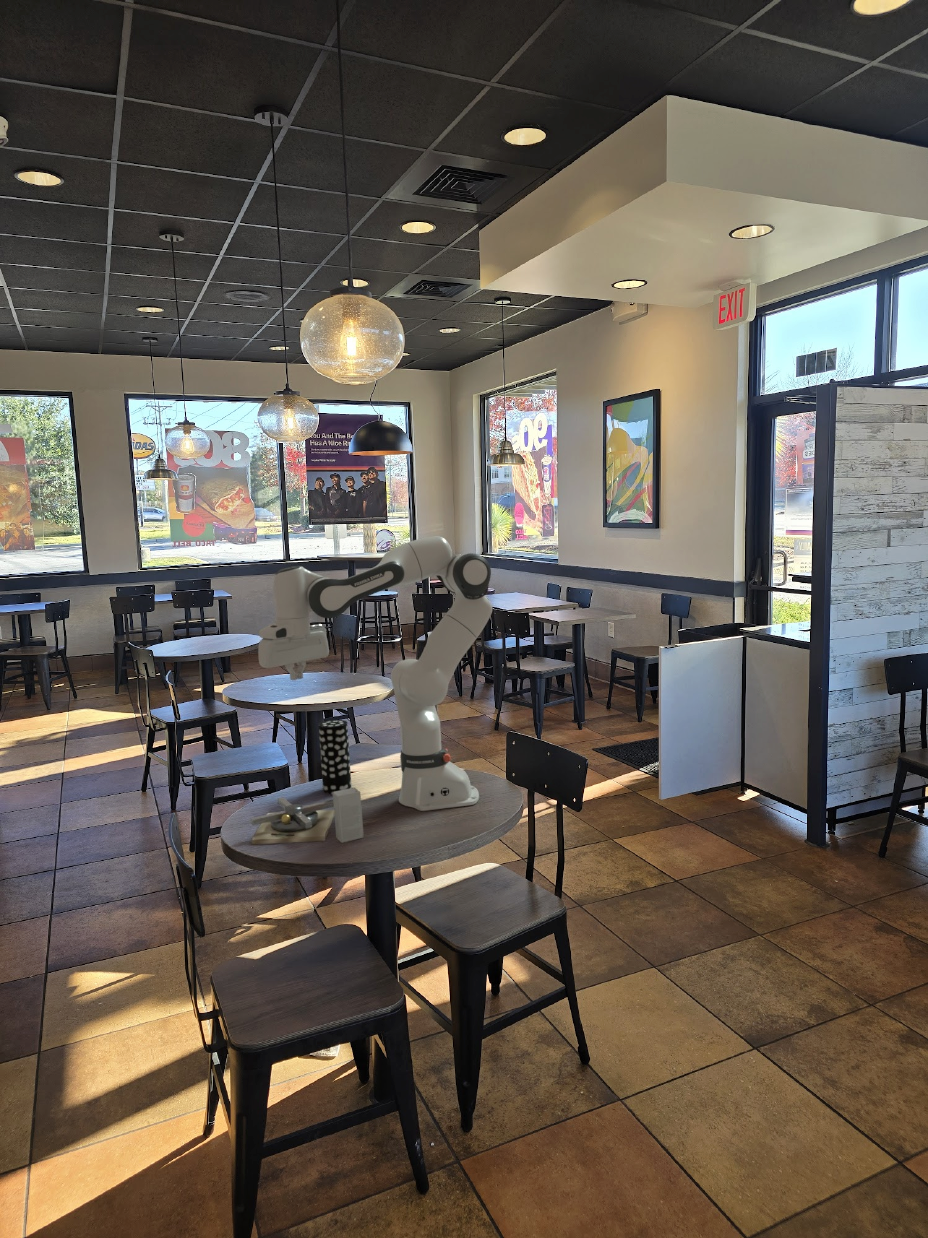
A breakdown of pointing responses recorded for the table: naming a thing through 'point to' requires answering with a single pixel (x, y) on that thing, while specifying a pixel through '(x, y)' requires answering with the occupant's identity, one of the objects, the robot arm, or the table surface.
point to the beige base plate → (311, 834)
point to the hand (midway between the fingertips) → (296, 679)
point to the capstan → (293, 816)
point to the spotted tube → (334, 755)
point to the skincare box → (348, 814)
